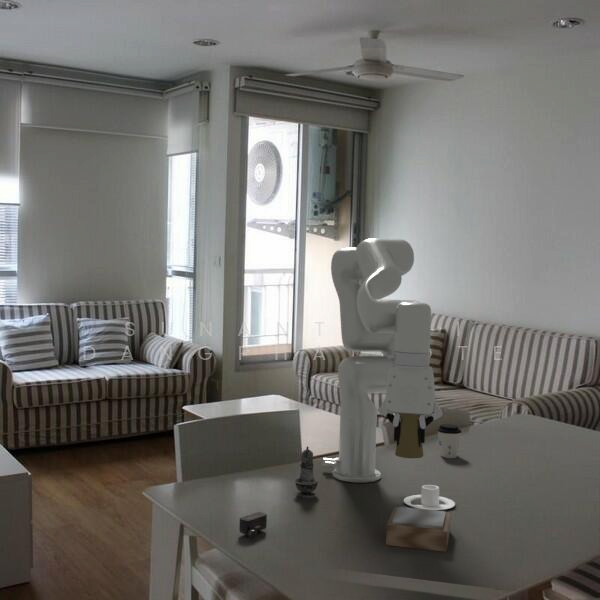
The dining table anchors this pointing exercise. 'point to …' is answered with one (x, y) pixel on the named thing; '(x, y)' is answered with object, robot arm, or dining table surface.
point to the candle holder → (430, 499)
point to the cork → (409, 437)
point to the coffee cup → (448, 440)
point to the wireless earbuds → (253, 523)
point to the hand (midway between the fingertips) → (409, 444)
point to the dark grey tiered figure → (306, 477)
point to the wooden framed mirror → (418, 528)
